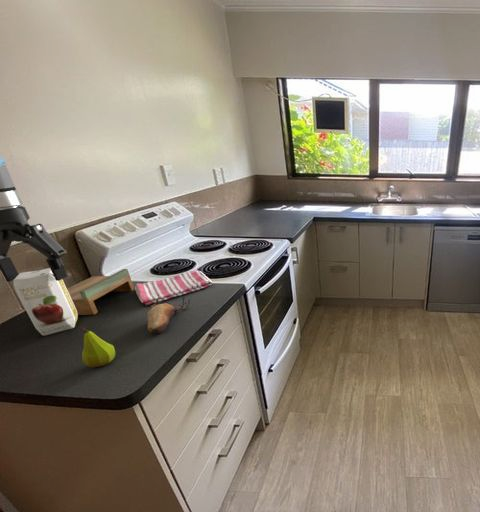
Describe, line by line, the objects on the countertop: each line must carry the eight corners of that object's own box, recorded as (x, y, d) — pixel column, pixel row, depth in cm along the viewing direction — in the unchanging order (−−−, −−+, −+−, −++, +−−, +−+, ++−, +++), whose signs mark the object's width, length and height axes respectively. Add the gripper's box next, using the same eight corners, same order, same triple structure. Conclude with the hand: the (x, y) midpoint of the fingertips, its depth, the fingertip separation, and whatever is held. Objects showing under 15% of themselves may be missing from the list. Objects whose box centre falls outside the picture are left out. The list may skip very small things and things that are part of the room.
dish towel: (135, 291, 112) (132, 284, 111) (201, 273, 128) (199, 266, 127) (143, 308, 101) (140, 299, 100) (215, 285, 117) (213, 278, 116)
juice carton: (44, 326, 91) (16, 272, 84) (82, 317, 96) (58, 265, 89) (37, 338, 85) (7, 281, 78) (78, 328, 90) (52, 273, 83)
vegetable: (189, 323, 88) (162, 301, 83) (155, 346, 86) (126, 324, 81) (196, 301, 101) (174, 281, 97) (167, 321, 99) (143, 301, 95)
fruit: (124, 354, 79) (109, 318, 75) (107, 371, 73) (89, 332, 69) (99, 356, 78) (82, 319, 74) (79, 373, 73) (60, 334, 68)
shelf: (51, 315, 97) (39, 292, 93) (98, 290, 113) (89, 269, 110) (94, 314, 97) (84, 291, 94) (134, 289, 114) (127, 268, 111)
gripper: (64, 204, 80) (93, 272, 88) (-29, 205, 79) (8, 274, 87) (35, 210, 73) (69, 284, 81) (-67, 211, 72) (-23, 285, 80)
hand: (38, 279), depth 84 cm, fingers open, 13 cm apart
